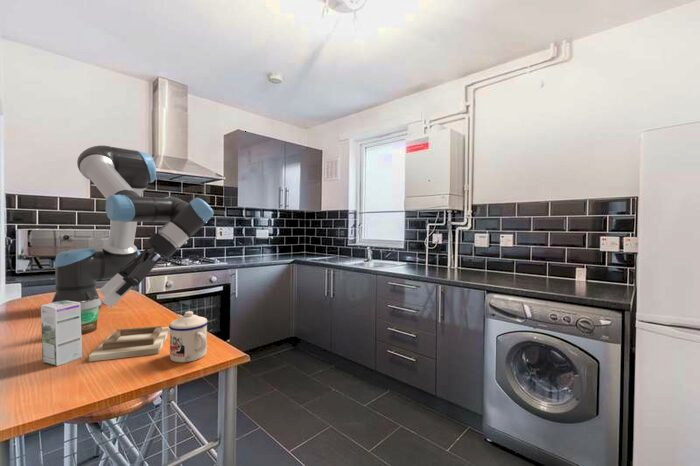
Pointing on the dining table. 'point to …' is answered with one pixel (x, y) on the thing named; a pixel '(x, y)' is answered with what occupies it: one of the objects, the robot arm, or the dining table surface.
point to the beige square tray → (131, 343)
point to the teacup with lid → (188, 338)
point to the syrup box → (61, 332)
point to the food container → (89, 315)
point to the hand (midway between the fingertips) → (103, 299)
